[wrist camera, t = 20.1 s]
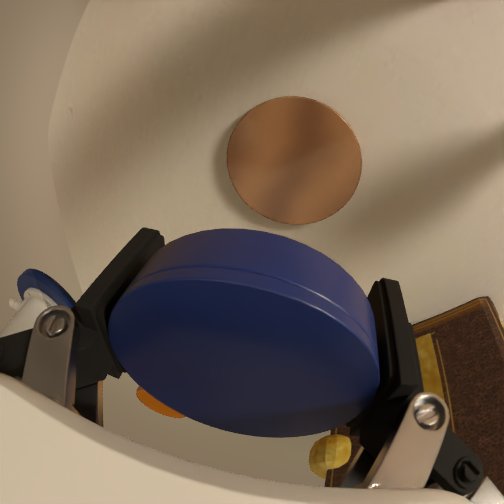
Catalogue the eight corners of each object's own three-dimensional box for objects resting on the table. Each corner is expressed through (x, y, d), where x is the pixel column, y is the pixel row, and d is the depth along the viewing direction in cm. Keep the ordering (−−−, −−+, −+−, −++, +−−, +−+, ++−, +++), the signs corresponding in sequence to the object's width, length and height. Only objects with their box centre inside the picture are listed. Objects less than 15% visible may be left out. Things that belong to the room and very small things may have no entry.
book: (491, 283, 23) (555, 521, 3) (493, 331, 26) (531, 524, 6) (308, 351, 33) (271, 568, 13) (336, 385, 36) (314, 565, 16)
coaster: (224, 208, 25) (222, 211, 24) (234, 87, 19) (232, 88, 19) (342, 232, 24) (343, 236, 23) (373, 113, 18) (375, 114, 18)
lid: (417, 349, 7) (425, 400, 6) (255, 410, 11) (246, 447, 10) (239, 161, 6) (209, 198, 4) (106, 309, 9) (80, 347, 8)
